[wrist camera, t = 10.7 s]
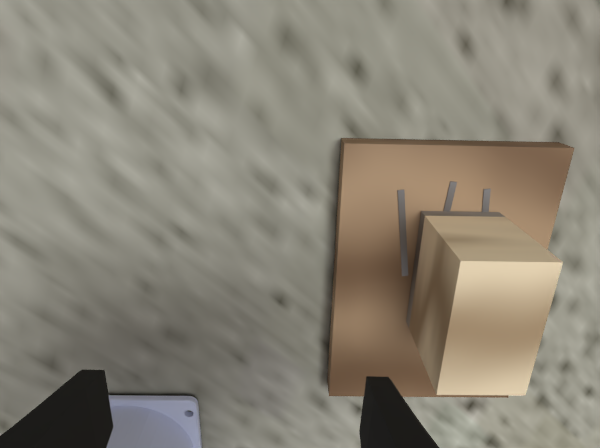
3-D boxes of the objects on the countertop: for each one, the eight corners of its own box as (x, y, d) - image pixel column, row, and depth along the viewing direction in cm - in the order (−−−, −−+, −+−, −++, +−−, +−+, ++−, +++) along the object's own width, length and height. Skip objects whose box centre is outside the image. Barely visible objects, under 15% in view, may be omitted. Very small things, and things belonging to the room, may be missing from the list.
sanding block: (476, 322, 22) (525, 395, 17) (406, 321, 22) (436, 395, 17) (499, 212, 20) (562, 262, 15) (420, 210, 19) (460, 261, 15)
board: (498, 381, 25) (508, 398, 24) (327, 380, 25) (329, 396, 24) (558, 142, 20) (574, 148, 18) (341, 138, 19) (344, 143, 18)
